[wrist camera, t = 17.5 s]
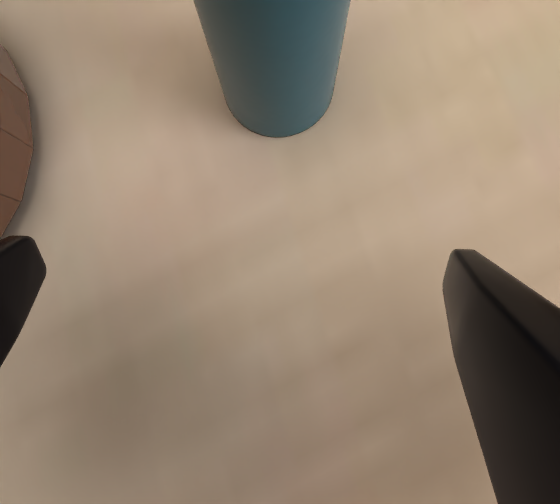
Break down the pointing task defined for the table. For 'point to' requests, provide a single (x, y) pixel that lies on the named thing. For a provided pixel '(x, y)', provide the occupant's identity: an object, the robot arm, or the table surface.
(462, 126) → the table surface
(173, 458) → the table surface
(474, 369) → the robot arm
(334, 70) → the tin
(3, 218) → the bowl
